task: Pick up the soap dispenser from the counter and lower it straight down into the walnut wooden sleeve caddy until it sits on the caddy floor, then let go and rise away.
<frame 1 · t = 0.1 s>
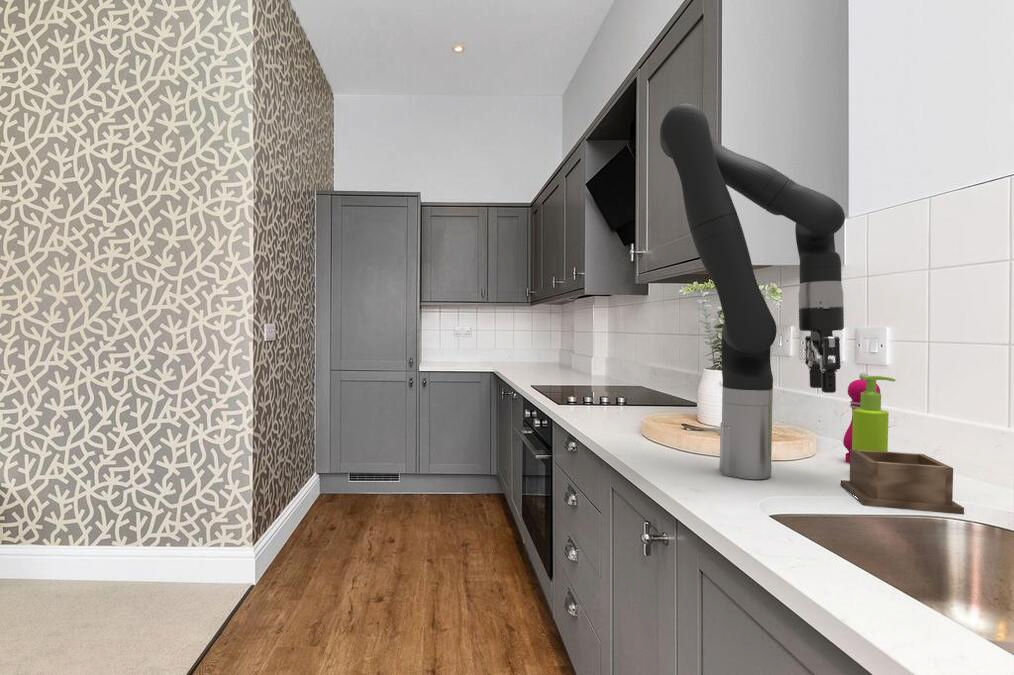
hand: (822, 390, 105), 17 cm above the counter, tool pointing down, fingers open, 8 cm apart
pepper mill: (862, 464, 119), on the counter
caddy: (897, 498, 94), on the counter
soap dispenser: (871, 477, 108), on the counter
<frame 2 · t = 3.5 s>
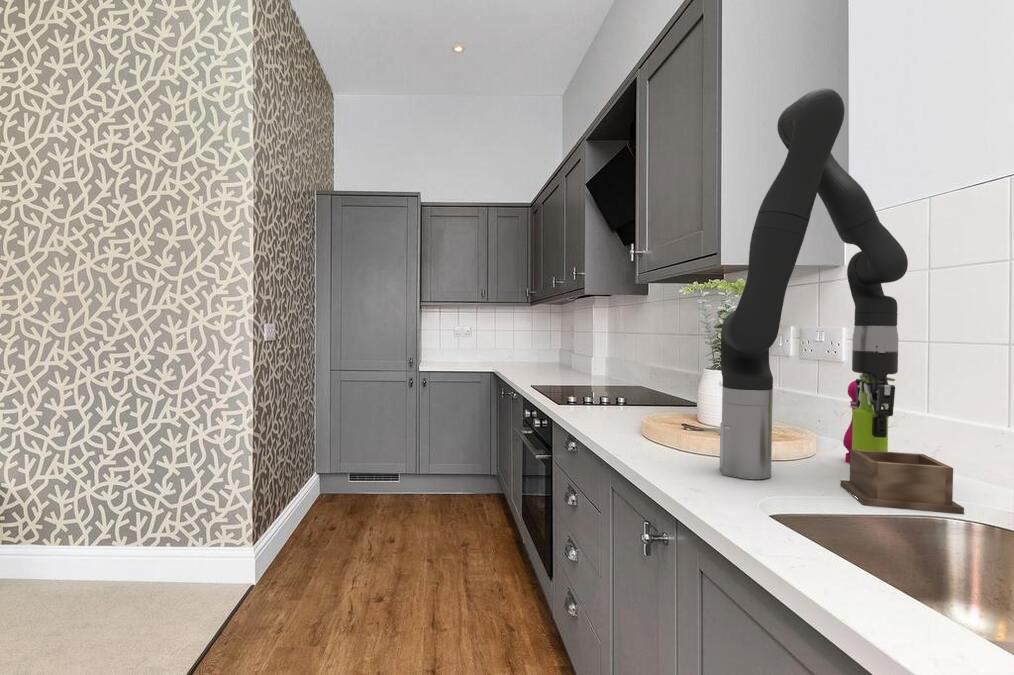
hand: (873, 433, 108), 9 cm above the counter, tool pointing down, fingers closed on soap dispenser, 6 cm apart
soap dispenser: (871, 477, 108), on the counter, touching gripper
everything else where it was.
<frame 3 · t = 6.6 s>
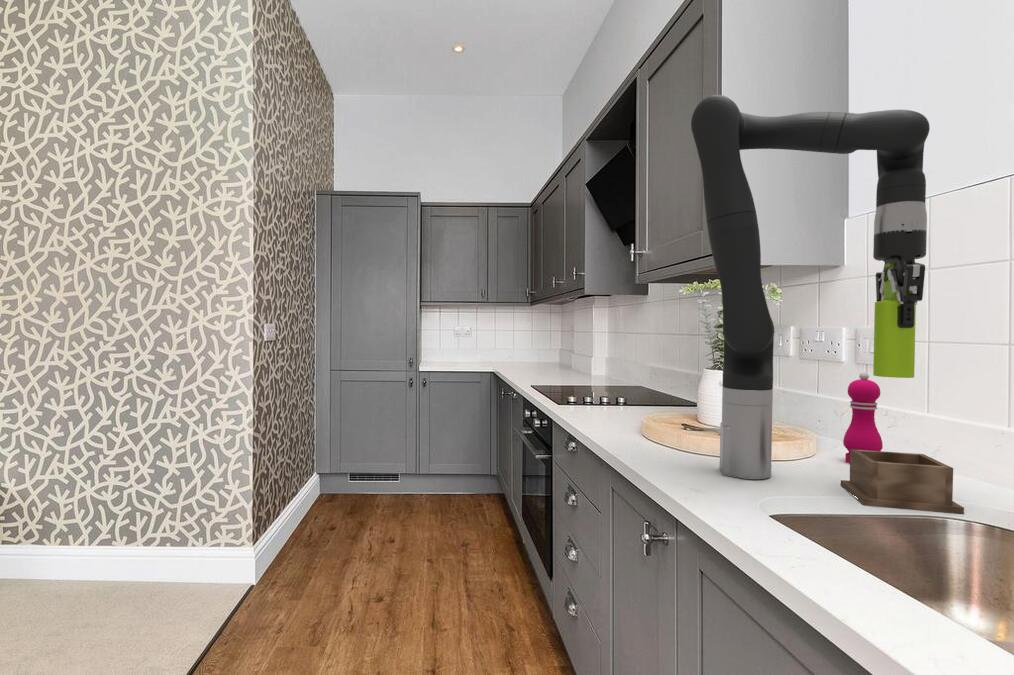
hand: (897, 327, 96), 30 cm above the counter, tool pointing down, fingers closed on soap dispenser, 6 cm apart
soap dispenser: (896, 377, 96), point 21 cm above the counter, touching gripper
everything else where it was.
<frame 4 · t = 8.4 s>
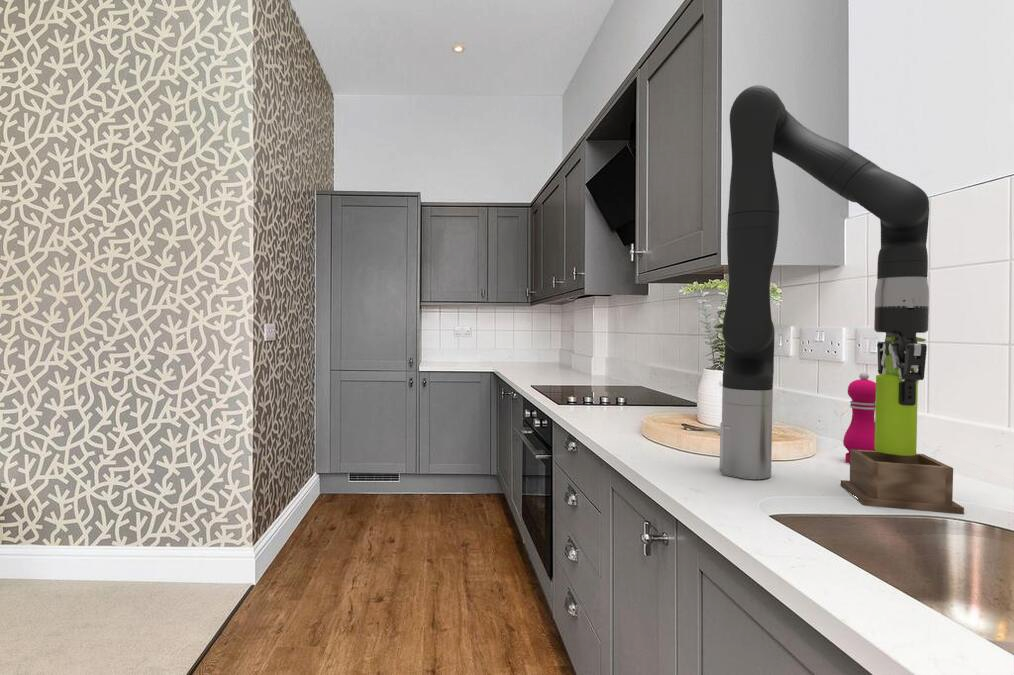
hand: (898, 402, 94), 17 cm above the counter, tool pointing down, fingers closed on soap dispenser, 6 cm apart
soap dispenser: (898, 453, 94), point 8 cm above the counter, touching gripper
everything else where it was.
when the fingers open (11 cm above the counter, at t = 10.0 s): soap dispenser drops 1 cm, resting on caddy.
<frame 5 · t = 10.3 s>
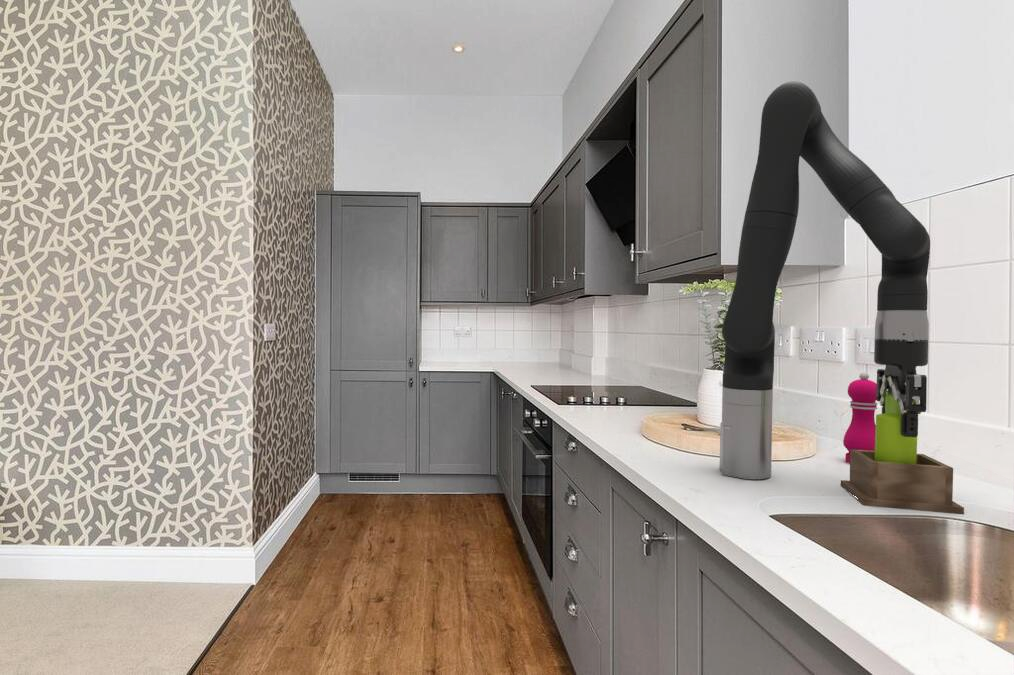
hand: (898, 432, 94), 12 cm above the counter, tool pointing down, fingers open, 8 cm apart
soap dispenser: (897, 493, 94), point 1 cm above the counter, touching caddy
everything else where it was.
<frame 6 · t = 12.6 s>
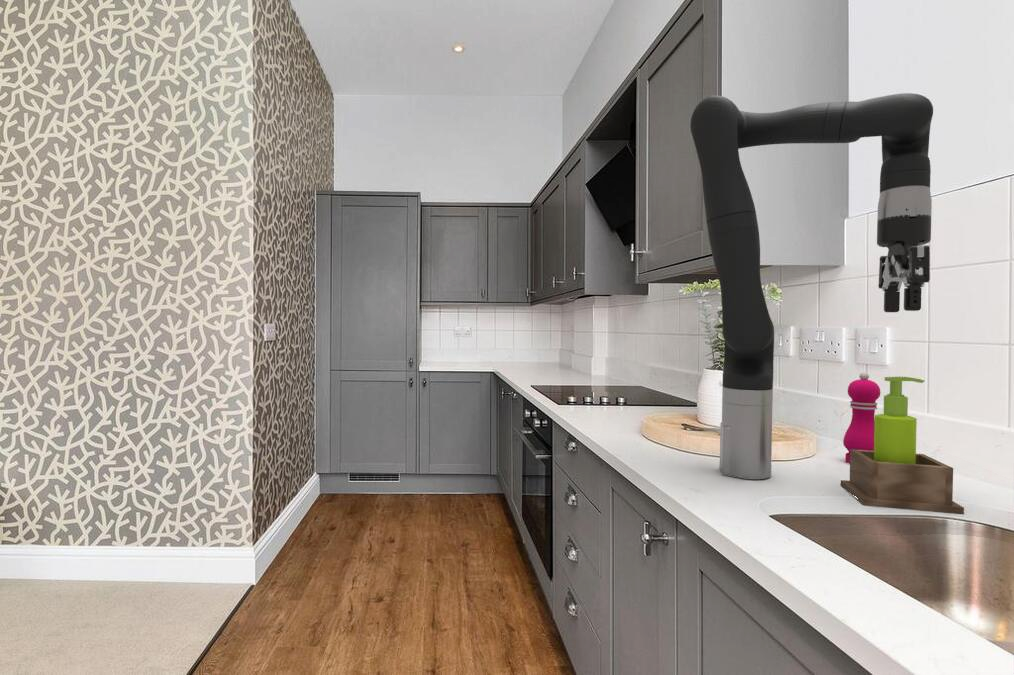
hand: (901, 311, 94), 32 cm above the counter, tool pointing down, fingers open, 8 cm apart
nothing on the counter moved.
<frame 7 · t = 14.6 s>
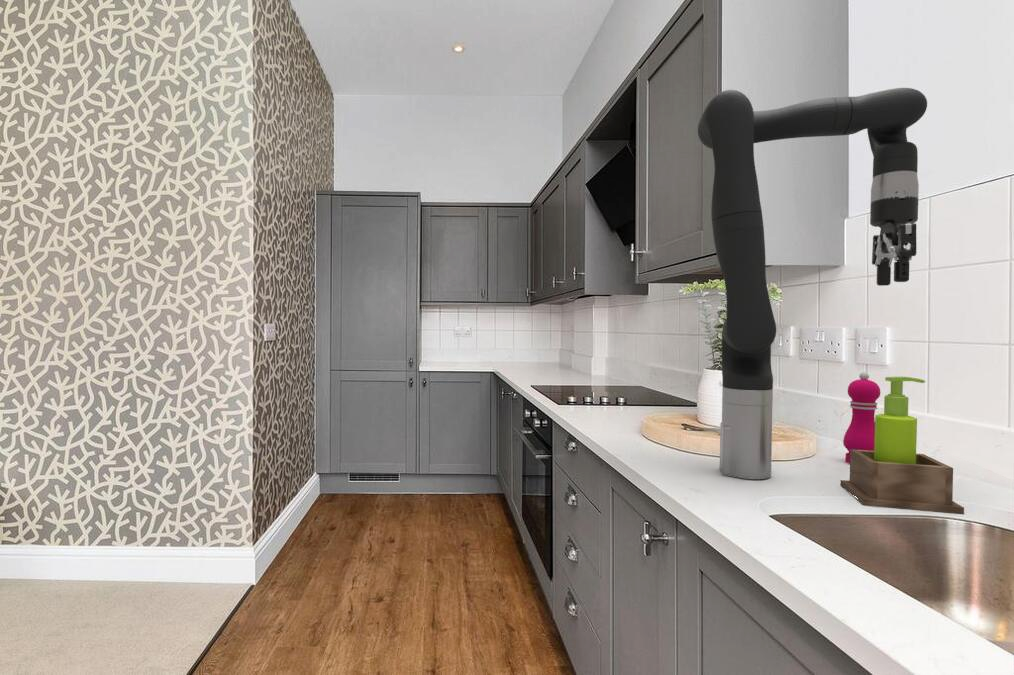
hand: (892, 283, 105), 38 cm above the counter, tool pointing down, fingers open, 8 cm apart
nothing on the counter moved.
at the end: soap dispenser 0.0 cm off-centre on the caddy, point 0.8 cm above the caddy's base; soap dispenser tilted 0°; the gripper is holding nothing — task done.
